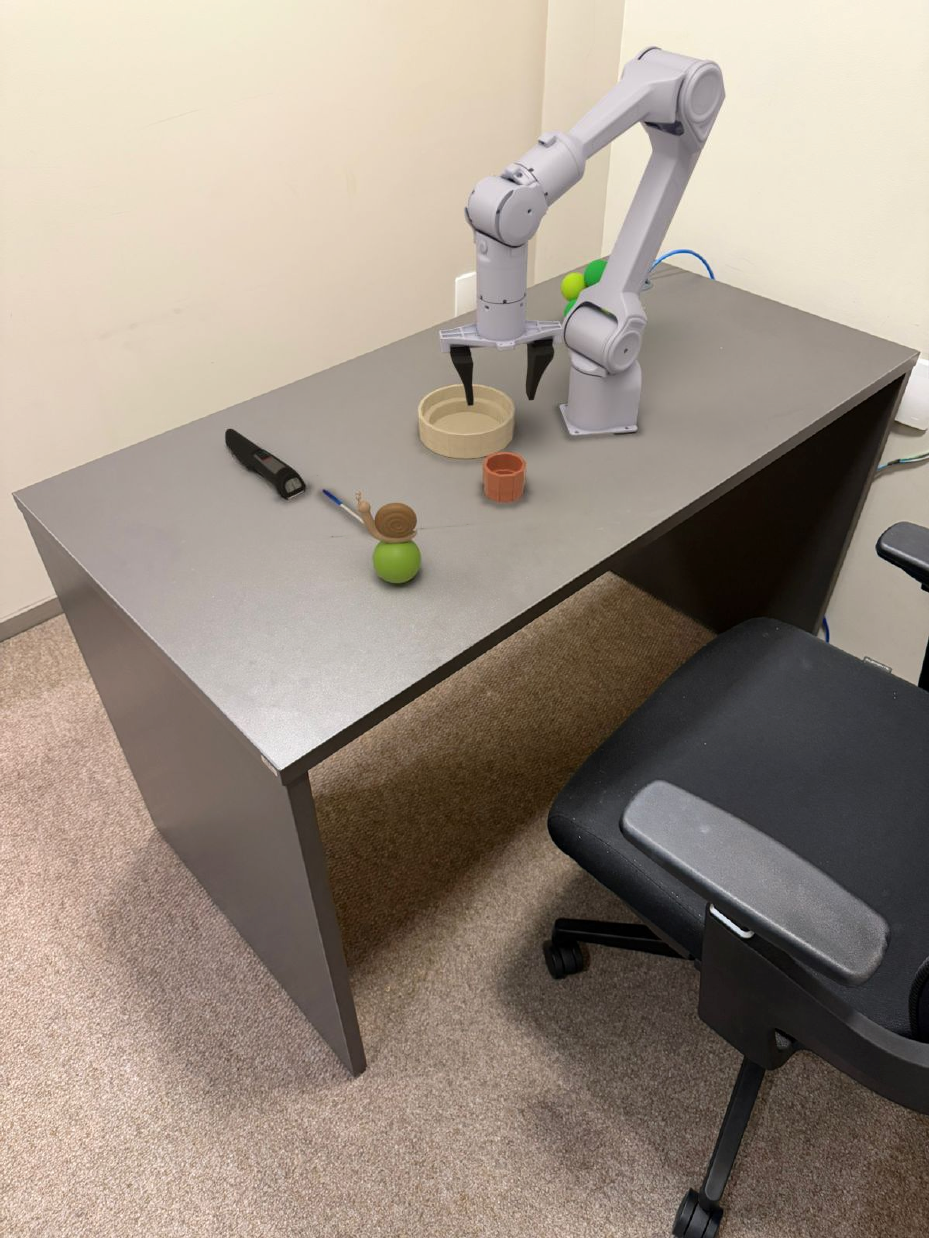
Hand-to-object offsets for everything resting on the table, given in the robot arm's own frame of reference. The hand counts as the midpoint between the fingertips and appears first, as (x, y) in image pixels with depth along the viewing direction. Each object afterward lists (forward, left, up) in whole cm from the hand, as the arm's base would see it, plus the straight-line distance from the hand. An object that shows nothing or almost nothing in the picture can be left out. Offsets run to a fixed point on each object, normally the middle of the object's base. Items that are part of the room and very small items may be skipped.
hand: (499, 399), depth 108 cm
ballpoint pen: (+20, +8, -10) cm, 24 cm away
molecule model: (-21, -33, -10) cm, 40 cm away
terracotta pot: (+1, +7, -9) cm, 12 cm away
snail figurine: (+15, +21, -10) cm, 28 cm away
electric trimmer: (+31, -2, -10) cm, 33 cm away
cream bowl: (+3, -7, -9) cm, 12 cm away
